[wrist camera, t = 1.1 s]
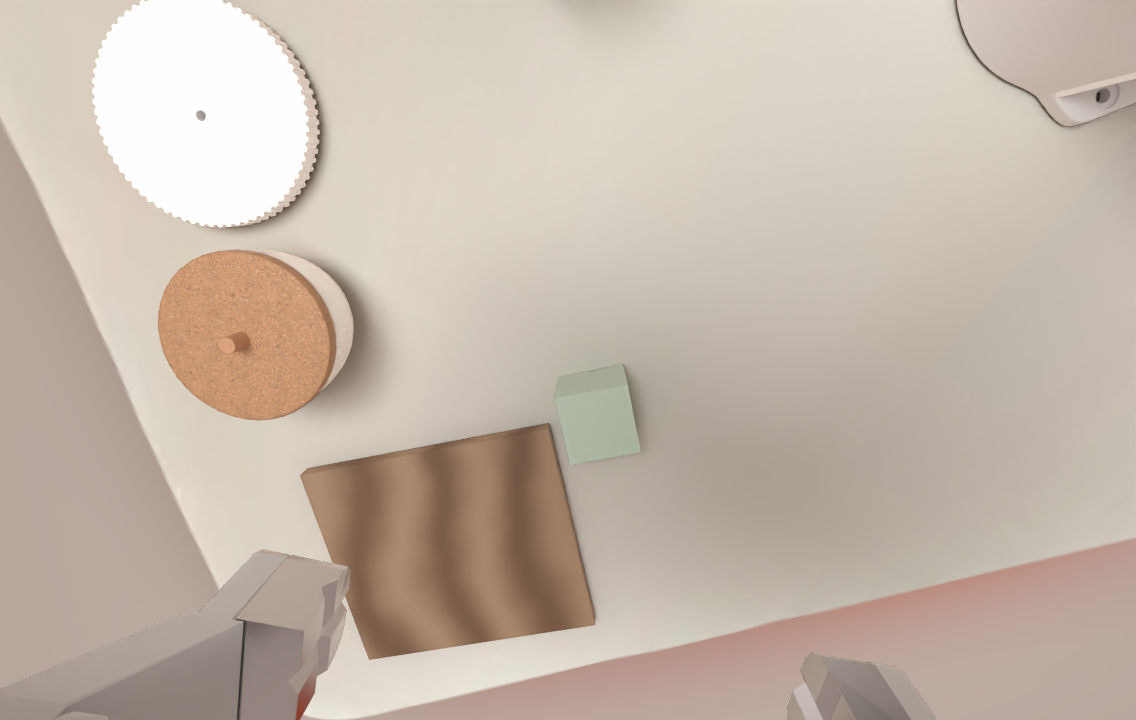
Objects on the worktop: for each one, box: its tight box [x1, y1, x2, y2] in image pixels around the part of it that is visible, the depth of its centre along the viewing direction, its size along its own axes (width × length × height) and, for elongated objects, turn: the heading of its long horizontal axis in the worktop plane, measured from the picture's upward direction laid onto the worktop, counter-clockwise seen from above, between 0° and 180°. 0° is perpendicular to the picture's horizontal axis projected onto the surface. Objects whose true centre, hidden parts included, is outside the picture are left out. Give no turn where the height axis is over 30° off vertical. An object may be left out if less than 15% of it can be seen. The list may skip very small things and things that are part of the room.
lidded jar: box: [158, 249, 354, 420], centre depth 37 cm, size 11×11×9 cm
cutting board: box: [300, 423, 595, 660], centre depth 46 cm, size 20×18×1 cm
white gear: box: [92, 0, 320, 227], centre depth 37 cm, size 14×14×2 cm
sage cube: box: [555, 364, 641, 465], centre depth 40 cm, size 5×5×5 cm
